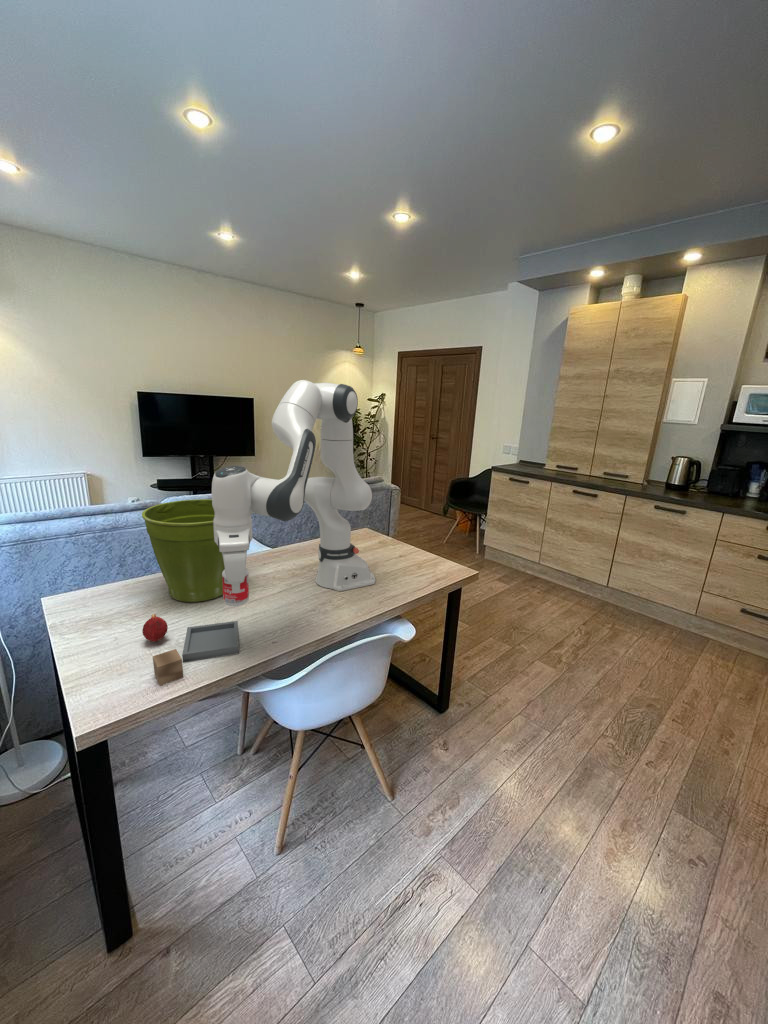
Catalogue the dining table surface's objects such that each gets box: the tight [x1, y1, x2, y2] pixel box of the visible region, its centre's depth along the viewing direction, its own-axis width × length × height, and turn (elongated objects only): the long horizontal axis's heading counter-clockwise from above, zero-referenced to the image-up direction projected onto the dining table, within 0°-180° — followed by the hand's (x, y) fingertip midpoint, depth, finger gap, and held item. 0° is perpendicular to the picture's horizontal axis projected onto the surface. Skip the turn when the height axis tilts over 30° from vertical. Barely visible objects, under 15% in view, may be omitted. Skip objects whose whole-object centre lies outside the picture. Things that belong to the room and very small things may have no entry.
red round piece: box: [141, 613, 169, 643], centre depth 105 cm, size 6×6×8 cm
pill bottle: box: [222, 568, 250, 607], centre depth 100 cm, size 6×6×11 cm
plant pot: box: [141, 498, 225, 603], centre depth 131 cm, size 30×30×29 cm
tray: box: [181, 620, 239, 663], centre depth 106 cm, size 13×13×2 cm
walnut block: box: [152, 648, 184, 687], centre depth 92 cm, size 5×5×5 cm
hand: (235, 585), depth 100 cm, fingers closed on pill bottle, 6 cm apart
